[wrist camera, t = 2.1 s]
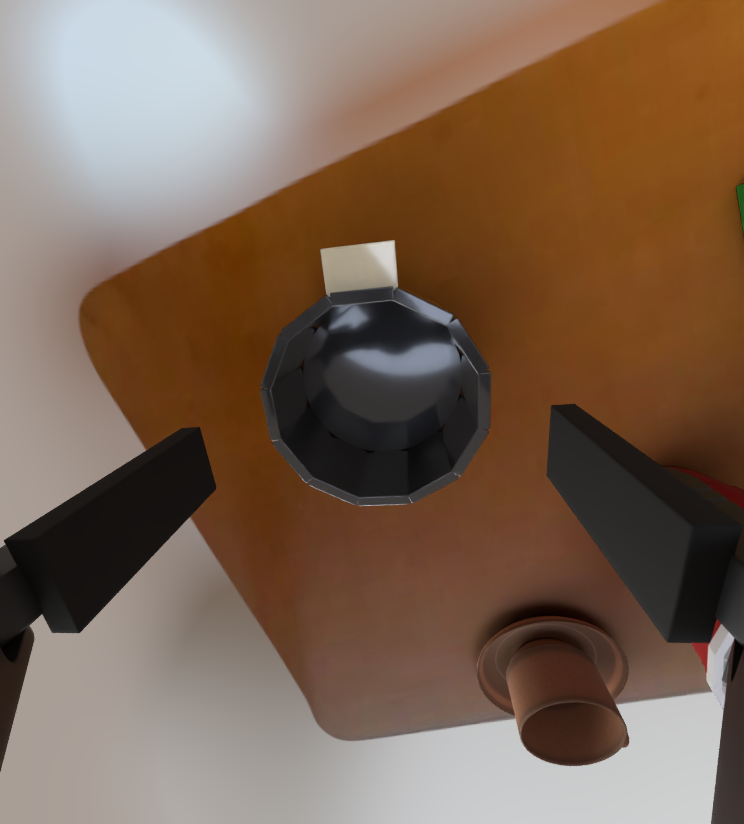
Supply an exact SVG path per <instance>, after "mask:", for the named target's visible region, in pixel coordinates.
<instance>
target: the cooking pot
mask: <svg viewBox="0 0 744 824" xmlns="http://www.w3.org/2000/svg"><path fill="white" fill-rule="evenodd" d="M320 252H321V259H322V267H323V274H324V281H325V289H326V295H325V296H324V297H322V298H321V299H320V300H318V301H317V302H316V303H315V304H313V305H312V306H311V307H310V308H308V309H307V310H306V311H305V312H303V313H302V314H301V315H300V316H298V317H297V318H296V319H295V320H293V321H292V322H291V323H290V324H288V325H287V326H286V327H284V328H283V329H282V330H281V331H280V332H281V333H280V334H278V335H277V338H276V341H275V344H274V347H273V350H272V353H271V356H270V359H269V362H268V364H267V367H266V370H265V373H264V376H263V379H262V382H261V385H260V386H261V387H263V388H262V389H260V392H261V397H262V402H263V406H264V411H265V416H266V420H267V425H268V430H269V434H270V439H271V441H274V442H273V445H274V447H275V448H276V449H277V450H278V451H279V453H280V454H281V455H282V456H283V457H284V458H285V460H286V461H287V462H288V463H289V464H290V465H291V467H292V468H293V469H294V470H295V471H296V473H297V474H298V475H299V476H300V477H301V478H302V480H303V481H304V482H305V483H307V482H309V484H308V485H309V486H311V487H314V488H316V489H318V490H321V491H323V492H325V493H327V494H330V495H332V496H334V497H337V498H339V499H341V500H343V501H346V502H348V503H350V504H353V505H356V504H357V502H358V506H376V505H406V504H410V501H411V502H412V503H415V502H417V501H418V500H420V499H422V498H424V497H426V496H428V495H429V494H431V493H433V492H435V491H437V490H439V489H440V488H442V487H444V486H446V485H448V484H450V483H451V482H453V481H455V480H457V479H458V476H461V475H462V474H463V472H464V471H465V469H466V467H467V466H468V464H469V463H470V461H471V460H472V458H473V456H474V455H475V453H476V452H477V450H478V448H479V447H480V445H481V444H482V442H483V441H484V439H485V437H486V436H487V434H488V433H489V431H488V429H489V428H490V405H491V372H490V371H489V366H488V365H487V363H486V362H485V360H484V358H483V357H482V355H481V354H480V352H479V350H478V349H477V347H476V346H475V344H474V342H473V341H472V339H471V338H470V336H469V335H468V333H467V331H466V330H465V328H464V327H463V325H462V323H461V322H460V320H459V319H458V318H457V317H456V316H455V315H454V314H453V313H451V312H450V311H449V310H447V309H446V308H444V307H443V306H441V305H439V304H437V303H435V302H433V301H431V300H429V299H427V298H425V297H423V296H421V295H418V294H416V293H414V292H412V291H410V290H408V289H406V288H404V287H402V286H398V273H397V259H396V245H395V241H394V240H390V241H381V242H373V243H365V244H357V245H349V246H340V247H332V248H324V249H320ZM319 325H320V326H319ZM318 326H319V327H318ZM458 350H459V351H458ZM459 353H460V354H459Z"/></svg>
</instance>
